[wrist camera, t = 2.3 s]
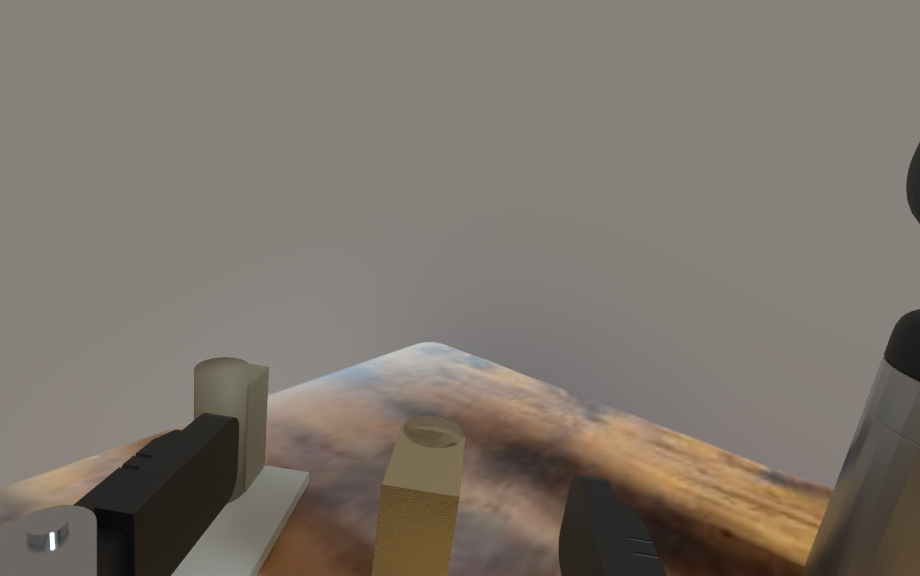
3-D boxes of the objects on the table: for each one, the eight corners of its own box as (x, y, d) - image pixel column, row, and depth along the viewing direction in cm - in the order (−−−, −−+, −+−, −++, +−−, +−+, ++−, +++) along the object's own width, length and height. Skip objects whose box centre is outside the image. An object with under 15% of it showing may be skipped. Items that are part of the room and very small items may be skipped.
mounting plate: (177, 716, 23) (176, 524, 20) (-44, 678, 23) (-73, 482, 20) (308, 484, 39) (317, 359, 36) (176, 462, 39) (176, 337, 36)
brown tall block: (428, 690, 25) (459, 496, 22) (359, 678, 25) (381, 484, 23) (442, 581, 32) (467, 420, 29) (386, 572, 32) (406, 411, 29)
